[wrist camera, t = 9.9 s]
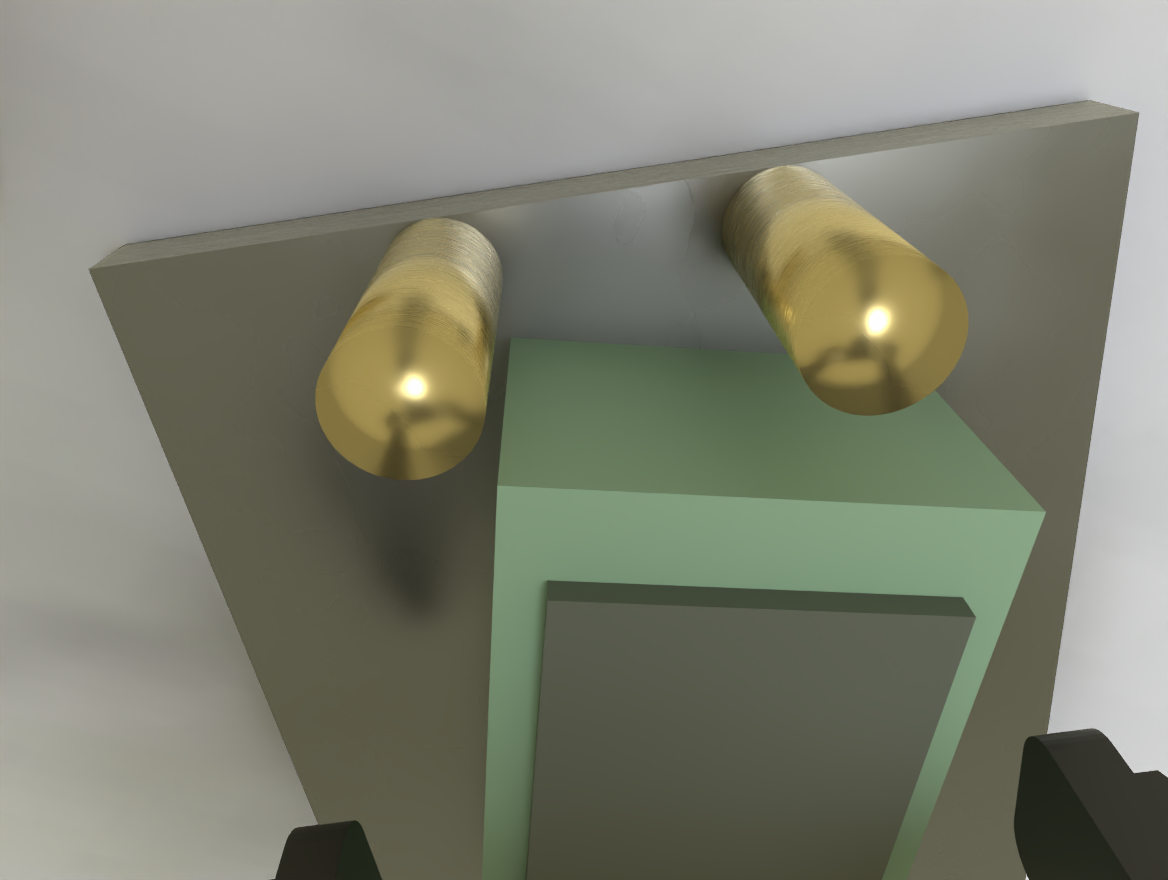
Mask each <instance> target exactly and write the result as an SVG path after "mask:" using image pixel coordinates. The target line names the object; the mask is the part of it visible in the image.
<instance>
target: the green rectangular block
mask: <svg viewBox="0 0 1168 880" xmlns="http://www.w3.org/2000/svg"><path fill="white" fill-rule="evenodd" d="M1045 513H1046V511H1045V510H1044V509H1043V508H1042V507H1041V506H1040V505H1039V504H1038V503H1037V501H1036V500H1035V499H1034V498H1033V497H1032V496H1031V495H1030V494H1029V493H1028V492H1027V490H1026V489H1025V488H1024V487H1023V486H1022V485H1021V484H1020V483H1019V482H1018V481H1017V479H1016V478H1015V477H1014V476H1013V475H1012V474H1011V473H1010V472H1009V471H1008V470H1007V469H1006V467H1005V466H1004V465H1003V464H1002V463H1001V462H1000V461H999V460H998V459H997V458H996V456H995V455H994V454H993V453H992V452H991V451H990V450H989V449H988V448H987V447H986V445H985V444H984V443H983V442H982V441H981V440H980V439H979V438H978V437H977V436H976V435H975V433H974V432H973V431H972V430H971V429H970V428H969V427H968V426H967V425H966V424H965V422H964V421H963V420H962V419H961V418H960V417H959V416H958V415H957V414H956V413H955V411H954V410H953V409H952V408H951V407H950V406H949V405H948V404H947V403H946V402H945V400H944V399H943V398H942V397H941V396H940V395H939V394H938V393H937V392H936V391H935V390H934V391H933V392H932V393H931V394H929V395H928V396H926V397H925V398H924V399H922V400H920V401H919V402H917V403H915V404H913V405H911V406H909V407H907V408H904V409H902V410H899V411H896V412H893V413H888V414H883V415H874V416H862V415H854V414H849V413H845V412H842V411H839V410H837V409H835V408H832V407H830V406H829V405H827V404H826V403H824V402H823V401H821V400H820V399H819V398H818V397H817V396H816V395H815V394H814V393H813V392H812V391H811V390H810V388H809V387H808V385H807V384H806V382H805V380H804V379H803V377H802V376H801V374H800V372H799V371H798V369H797V368H796V366H795V364H794V363H793V361H792V359H791V358H790V356H789V355H788V354H776V353H759V352H743V351H726V350H709V349H692V348H675V347H659V346H642V345H625V344H608V343H592V342H575V341H558V340H541V339H525V338H511V342H510V353H509V363H508V374H507V385H506V396H505V407H504V418H503V429H502V440H501V451H500V462H499V473H498V484H497V507H496V533H495V558H494V584H493V609H492V634H491V660H490V685H489V711H488V736H487V762H486V787H485V813H484V838H483V864H482V880H907V877H908V875H909V872H910V870H911V867H912V864H913V862H914V859H915V856H916V854H917V851H918V848H919V846H920V843H921V841H922V838H923V835H924V833H925V830H926V827H927V825H928V822H929V819H930V817H931V814H932V811H933V809H934V806H935V804H936V801H937V798H938V796H939V793H940V790H941V788H942V785H943V782H944V780H945V777H946V775H947V772H948V769H949V767H950V764H951V761H952V759H953V756H954V753H955V751H956V748H957V746H958V743H959V740H960V738H961V735H962V732H963V730H964V727H965V724H966V722H967V719H968V717H969V714H970V711H971V709H972V706H973V703H974V701H975V698H976V695H977V693H978V690H979V688H980V685H981V682H982V680H983V677H984V674H985V672H986V669H987V666H988V664H989V661H990V659H991V656H992V653H993V651H994V648H995V645H996V643H997V640H998V637H999V635H1000V632H1001V630H1002V627H1003V624H1004V622H1005V619H1006V616H1007V614H1008V611H1009V608H1010V606H1011V603H1012V600H1013V598H1014V595H1015V593H1016V590H1017V587H1018V585H1019V582H1020V579H1021V577H1022V574H1023V571H1024V569H1025V566H1026V564H1027V561H1028V558H1029V556H1030V553H1031V550H1032V548H1033V545H1034V542H1035V540H1036V537H1037V535H1038V532H1039V529H1040V527H1041V524H1042V521H1043V519H1044V516H1045Z"/></svg>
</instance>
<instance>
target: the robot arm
mask: <svg viewBox="0 0 1168 880" xmlns="http://www.w3.org/2000/svg"><path fill="white" fill-rule="evenodd" d="M1014 833H1015V840H1016V845H1017V849H1018V852H1019V856H1020V859H1021V862H1022V864H1023V867H1024V869H1025V872H1026V874H1027V876H1028V878H1029V880H1168V778H1167V777H1166V776H1165V775H1163V774H1162V773H1161V772H1159V771H1158V770H1157V771H1149V772H1141V773H1133V772H1132V770H1131V769H1130V768H1129V766H1128V765H1127V763H1126V762H1125V761H1124V759H1123V758H1122V757H1121V755H1120V754H1119V752H1118V751H1117V750H1116V748H1115V747H1114V746H1113V744H1112V743H1111V742H1110V740H1109V739H1108V738H1107V737H1106V736H1105V735H1104V734H1103V733H1102V732H1100V731H1099V730H1096V729H1083V730H1076V731H1068V732H1060V733H1052V734H1044V735H1037V736H1030V737H1028V738H1027V739H1026V741H1025V743H1024V747H1023V754H1022V761H1021V769H1020V776H1019V784H1018V791H1017V799H1016V807H1015V814H1014ZM271 880H382V878H381V875H380V872H379V870H378V867H377V864H376V862H375V859H374V857H373V854H372V851H371V849H370V846H369V843H368V841H367V838H366V836H365V833H364V830H363V828H362V826H361V824H360V823H359V822H358V821H356V820H353V821H345V822H337V823H329V824H322V825H314V826H306V827H298V828H295V829H294V830H293V831H292V832H291V833H290V835H289V837H288V839H287V841H286V844H285V847H284V850H283V854H282V857H281V861H280V864H279V867H278V871H277V874H276V878H275V879H271Z"/></svg>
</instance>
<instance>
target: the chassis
mask: <svg viewBox="0 0 1168 880" xmlns="http://www.w3.org/2000/svg"><path fill="white" fill-rule="evenodd" d="M1138 117H1139V112H1135V111H1131V110H1127V109H1123V108H1119V107H1115V106H1111V105H1107V104H1103V103H1099V102H1095V101H1091V100H1090V101H1083V102H1077V103H1070V104H1063V105H1057V106H1050V107H1043V108H1037V109H1030V110H1023V111H1017V112H1010V113H1003V114H997V115H990V116H983V117H977V118H970V119H963V120H957V121H950V122H943V123H936V124H930V125H923V126H916V127H910V128H903V129H896V130H890V131H883V132H876V133H870V134H863V135H856V136H850V137H843V138H836V139H830V140H823V141H816V142H810V143H803V144H796V145H790V146H783V147H776V148H770V149H763V150H756V151H750V152H743V153H736V154H729V155H723V156H716V157H709V158H703V159H696V160H689V161H683V162H676V163H669V164H663V165H656V166H649V167H643V168H636V169H629V170H623V171H616V172H609V173H603V174H596V175H589V176H583V177H576V178H569V179H563V180H556V181H549V182H542V183H536V184H529V185H522V186H516V187H509V188H502V189H496V190H489V191H482V192H476V193H469V194H462V195H456V196H449V197H442V198H436V199H429V200H422V201H416V202H409V203H402V204H396V205H389V206H382V207H376V208H369V209H362V210H355V211H349V212H342V213H335V214H329V215H322V216H315V217H309V218H302V219H295V220H289V221H282V222H275V223H269V224H262V225H255V226H249V227H242V228H235V229H229V230H222V231H215V232H209V233H202V234H195V235H189V236H182V237H175V238H168V239H162V240H155V241H148V242H142V243H135V244H128V245H124V246H122V247H121V248H119V249H118V250H117V251H115V252H114V253H112V254H111V255H109V256H108V257H106V258H105V259H103V260H102V261H100V262H99V263H97V264H96V265H94V266H93V267H91V268H90V269H89V271H90V274H91V276H92V279H93V281H94V283H95V286H96V288H97V291H98V293H99V295H100V298H101V300H102V303H103V305H104V308H105V310H106V312H107V315H108V317H109V320H110V322H111V324H112V327H113V329H114V332H115V334H116V337H117V339H118V341H119V344H120V346H121V349H122V351H123V353H124V356H125V358H126V361H127V363H128V366H129V368H130V370H131V373H132V375H133V378H134V380H135V382H136V385H137V387H138V390H139V392H140V395H141V397H142V399H143V402H144V404H145V407H146V409H147V411H148V414H149V416H150V419H151V421H152V424H153V426H154V428H155V431H156V433H157V436H158V438H159V440H160V443H161V445H162V448H163V450H164V452H165V455H166V457H167V460H168V462H169V465H170V467H171V469H172V472H173V474H174V477H175V479H176V481H177V484H178V486H179V489H180V491H181V494H182V496H183V498H184V501H185V503H186V506H187V508H188V510H189V513H190V515H191V518H192V520H193V523H194V525H195V527H196V530H197V532H198V535H199V537H200V539H201V542H202V544H203V547H204V549H205V552H206V554H207V556H208V559H209V561H210V564H211V566H212V568H213V571H214V573H215V576H216V578H217V581H218V583H219V585H220V588H221V590H222V593H223V595H224V597H225V600H226V602H227V605H228V607H229V610H230V612H231V614H232V617H233V619H234V622H235V624H236V626H237V629H238V631H239V634H240V636H241V639H242V641H243V643H244V646H245V648H246V651H247V653H248V655H249V658H250V660H251V663H252V665H253V667H254V670H255V672H256V675H257V677H258V680H259V682H260V684H261V687H262V689H263V692H264V694H265V696H266V699H267V701H268V704H269V706H270V709H271V711H272V713H273V716H274V718H275V721H276V723H277V725H278V728H279V730H280V733H281V735H282V738H283V740H284V742H285V745H286V747H287V750H288V752H289V754H290V757H291V759H292V762H293V764H294V767H295V769H296V771H297V774H298V776H299V779H300V781H301V783H302V786H303V788H304V791H305V793H306V796H307V798H308V800H309V803H310V805H311V808H312V810H313V812H314V815H315V817H316V820H317V822H318V825H322V824H329V823H337V822H345V821H353V820H356V821H358V822H359V823H360V824H361V826H362V828H363V830H364V833H365V836H366V838H367V841H368V843H369V846H370V849H371V851H372V854H373V857H374V859H375V862H376V864H377V867H378V870H379V872H380V875H381V878H382V880H482V864H483V838H484V813H485V787H486V762H487V736H488V711H489V685H490V660H491V634H492V609H493V584H494V558H495V533H496V507H497V484H498V473H499V462H500V451H501V440H502V429H503V418H504V407H505V396H506V385H507V374H508V363H509V353H510V342H511V338H525V339H541V340H558V341H575V342H592V343H608V344H625V345H642V346H659V347H675V348H692V349H709V350H726V351H743V352H759V353H776V354H788V355H789V356H790V358H791V359H792V361H793V363H794V364H795V366H796V368H797V369H798V371H799V372H800V374H801V376H802V377H803V379H804V380H805V382H806V384H807V385H808V387H809V388H810V390H811V391H812V392H813V393H814V394H815V395H816V396H817V397H818V398H819V399H820V400H821V401H823V402H824V403H826V404H827V405H829V406H830V407H832V408H835V409H837V410H839V411H842V412H845V413H849V414H854V415H862V416H874V415H883V414H888V413H893V412H896V411H899V410H902V409H904V408H907V407H909V406H911V405H913V404H915V403H917V402H919V401H920V400H922V399H924V398H925V397H926V396H928V395H929V394H931V393H932V392H933V391H934V390H935V391H936V392H937V393H938V394H939V395H940V396H941V397H942V398H943V399H944V400H945V402H946V403H947V404H948V405H949V406H950V407H951V408H952V409H953V410H954V411H955V413H956V414H957V415H958V416H959V417H960V418H961V419H962V420H963V421H964V422H965V424H966V425H967V426H968V427H969V428H970V429H971V430H972V431H973V432H974V433H975V435H976V436H977V437H978V438H979V439H980V440H981V441H982V442H983V443H984V444H985V445H986V447H987V448H988V449H989V450H990V451H991V452H992V453H993V454H994V455H995V456H996V458H997V459H998V460H999V461H1000V462H1001V463H1002V464H1003V465H1004V466H1005V467H1006V469H1007V470H1008V471H1009V472H1010V473H1011V474H1012V475H1013V476H1014V477H1015V478H1016V479H1017V481H1018V482H1019V483H1020V484H1021V485H1022V486H1023V487H1024V488H1025V489H1026V490H1027V492H1028V493H1029V494H1030V495H1031V496H1032V497H1033V498H1034V499H1035V500H1036V501H1037V503H1038V504H1039V505H1040V506H1041V507H1042V508H1043V509H1044V510H1045V511H1046V513H1045V516H1044V519H1043V521H1042V524H1041V527H1040V529H1039V532H1038V535H1037V537H1036V540H1035V542H1034V545H1033V548H1032V550H1031V553H1030V556H1029V558H1028V561H1027V564H1026V566H1025V569H1024V571H1023V574H1022V577H1021V579H1020V582H1019V585H1018V587H1017V590H1016V593H1015V595H1014V598H1013V600H1012V603H1011V606H1010V608H1009V611H1008V614H1007V616H1006V619H1005V622H1004V624H1003V627H1002V630H1001V632H1000V635H999V637H998V640H997V643H996V645H995V648H994V651H993V653H992V656H991V659H990V661H989V664H988V666H987V669H986V672H985V674H984V677H983V680H982V682H981V685H980V688H979V690H978V693H977V695H976V698H975V701H974V703H973V706H972V709H971V711H970V714H969V717H968V719H967V722H966V724H965V727H964V730H963V732H962V735H961V738H960V740H959V743H958V746H957V748H956V751H955V753H954V756H953V759H952V761H951V764H950V767H949V769H948V772H947V775H946V777H945V780H944V782H943V785H942V788H941V790H940V793H939V796H938V798H937V801H936V804H935V806H934V809H933V811H932V814H931V817H930V819H929V822H928V825H927V827H926V830H925V833H924V835H923V838H922V841H921V843H920V846H919V848H918V851H917V854H916V856H915V859H914V862H913V864H912V867H911V870H910V872H909V875H908V877H907V880H1025V879H1026V872H1025V869H1024V867H1023V864H1022V862H1021V859H1020V856H1019V852H1018V849H1017V845H1016V840H1015V833H1014V814H1015V807H1016V799H1017V791H1018V784H1019V776H1020V769H1021V761H1022V754H1023V747H1024V743H1025V741H1026V739H1027V738H1028V737H1030V736H1037V735H1044V734H1047V730H1048V724H1049V717H1050V710H1051V703H1052V697H1053V690H1054V683H1055V676H1056V670H1057V663H1058V656H1059V649H1060V643H1061V636H1062V629H1063V623H1064V616H1065V609H1066V602H1067V596H1068V589H1069V582H1070V575H1071V569H1072V562H1073V555H1074V548H1075V542H1076V535H1077V528H1078V521H1079V515H1080V508H1081V501H1082V495H1083V488H1084V481H1085V474H1086V468H1087V461H1088V454H1089V447H1090V441H1091V434H1092V427H1093V420H1094V414H1095V407H1096V400H1097V393H1098V387H1099V380H1100V373H1101V367H1102V360H1103V353H1104V346H1105V340H1106V333H1107V326H1108V319H1109V313H1110V306H1111V299H1112V292H1113V286H1114V279H1115V272H1116V265H1117V259H1118V252H1119V245H1120V239H1121V232H1122V225H1123V218H1124V212H1125V205H1126V198H1127V191H1128V185H1129V178H1130V171H1131V164H1132V158H1133V151H1134V144H1135V137H1136V131H1137V124H1138Z"/></svg>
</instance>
